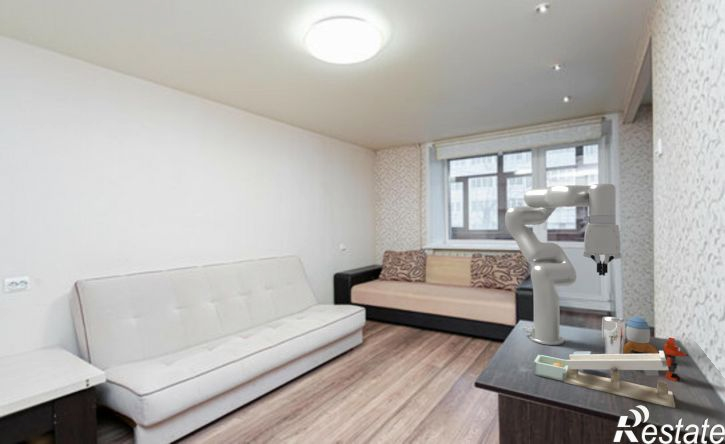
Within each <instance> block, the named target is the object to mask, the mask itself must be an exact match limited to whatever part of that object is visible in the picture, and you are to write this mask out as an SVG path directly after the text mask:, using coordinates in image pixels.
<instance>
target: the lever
mask: <svg viewBox="0 0 725 444" xmlns="http://www.w3.org/2000/svg"><path fill="white" fill-rule="evenodd" d="M658 352H659V353H658V354H649V353H643V354H635V353H629V354H604V353H601V354H599V353H597V354H596V353H594V354H592V351H574V352H573V354H569V356H568V357H569V359H566V360H567V362H568V366H569V369H578V370H600V371H601V370H604V371H605V370H606V371H607V370H608V371H609V370H610V371H611V367H616V368H619V370H620V371H624V370H625V371H643V372H644V375H645V376H652V377H653V376H659V371H666V370H669V369H668V366H667V362H666V358H665V355H664V354H665V353H664V350H658Z"/></svg>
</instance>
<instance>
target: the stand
mask: <svg viewBox="0 0 725 444" xmlns="http://www.w3.org/2000/svg"><path fill="white" fill-rule="evenodd" d="M562 382H563V383H565V384H571V385H574V386H579V387H583V388H588V389H592V390H595V391H601V392H604V393H609V394H613V395H618V396H620V397H621V396H622V397H626V398H631V399H635V400H639V401H644V402H648V403H652V404H656V405H661V406H665V407H669V408H674V409H676V403H675V399H674V395H673V391H670V390H669V388H668V383H667V382H666V381H663V380H659V379H658V380H657V381H656V382H657V388H656V387H651V386H647V385H641V384H637V383H632V382H630V381H629V382H628V381H623V380H621V370H619V368H616V367H611V370H610V377H604V376H601V375H594V374H590V373H586V372H582V371H579V369H569V371H568V374H567V377H566V379H563V381H562Z"/></svg>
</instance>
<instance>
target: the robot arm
mask: <svg viewBox="0 0 725 444" xmlns="http://www.w3.org/2000/svg"><path fill="white" fill-rule="evenodd" d="M616 198H617V197H616V185H615V184H613V183H597V184H592V185H575V184H574V185H572V184H571V185H557V186H546V187H545V186H544V187H543V186H542V187H535V188H530V189H528V190H527V191H526V192H525V193H524V196H523V202H524V203H525V205H524V206H523V205H520V206H514V207H513V206H512V207H510V208H509V209H508V210H507V211H506V212H505V216H504V223H505V227H506V229H507V231H508V233H509V234H510V235H511V237H512V238H513V239H514V241H515V243H516V244H517V246H518V248H519V250H520V252H521V253H522V256H523V257H524V260H525V261H526V262H527V263H528V264H529V265H534V266H533V267H532V268H531V270H530V280H531V285H532V290H533V291H532V293H533V326H531V327H528V326H524V325H523V326H522V331H523V332H524V333H527V334H529V339H530V340H531V341H532V342H535V343H537V344H541V345H546V346H547V345H549V346H561V345H563V344H564V343H565V338H563V337H562V336H560V335H561V333H560V325H561V324H560V322H561V321H560V296H559V293H558V292H557V290H556V287H567V286H568V287H569V286H572V285H574V284H575V283H576V280H577V272H576V269H575V267H574V266H573V264H572V263H571V260H570V259H569V258H568V256H567V255H566V252H565V251H564V250H563V247H561V246H560V245H559V244H557V243H555V242H542V241H541V240H539V238H538V237H537V235H536V234H535V233H534V231H533V230H531V228H529V227H527V226H538V225H542V224H544V223H545V222H546V221H547V220H548V219H549V217H551V215H553V213H554V211H556V210H557V208H559V207H564V208H565V207H568V208H569V207H585V208H586V207H588V216H586V217H583V222H587V223H588V224H585V228H584V229H585V230H584V239H583V257H585V258H589V259H591V260H592V261H594V262H595V263H596V273H598V276H606V274H608V269H609V268H608V266H609V265H608V264H609V263H610V262H611V261H613V260H617V259H622V252H621V250H622V249H621V247H622V243H621V232H620V227H619V224H616V223H617V222H616V212H617V210H616V208H617V207H616V205H617V203H616V200H617V199H616ZM526 205H527V206H526ZM600 255H604V259H603V261H602V260H601V257H600Z"/></svg>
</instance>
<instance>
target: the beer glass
mask: <svg viewBox="0 0 725 444" xmlns="http://www.w3.org/2000/svg"><path fill="white" fill-rule="evenodd" d="M601 320H602V321H601V336H602V342H603V348H604V353H603V354H623V350H624V346H625V345H626V340H627V335H626V327H627V323H626V320H625V319H623V318H621V317H616V316H603V317H602V319H601Z"/></svg>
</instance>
